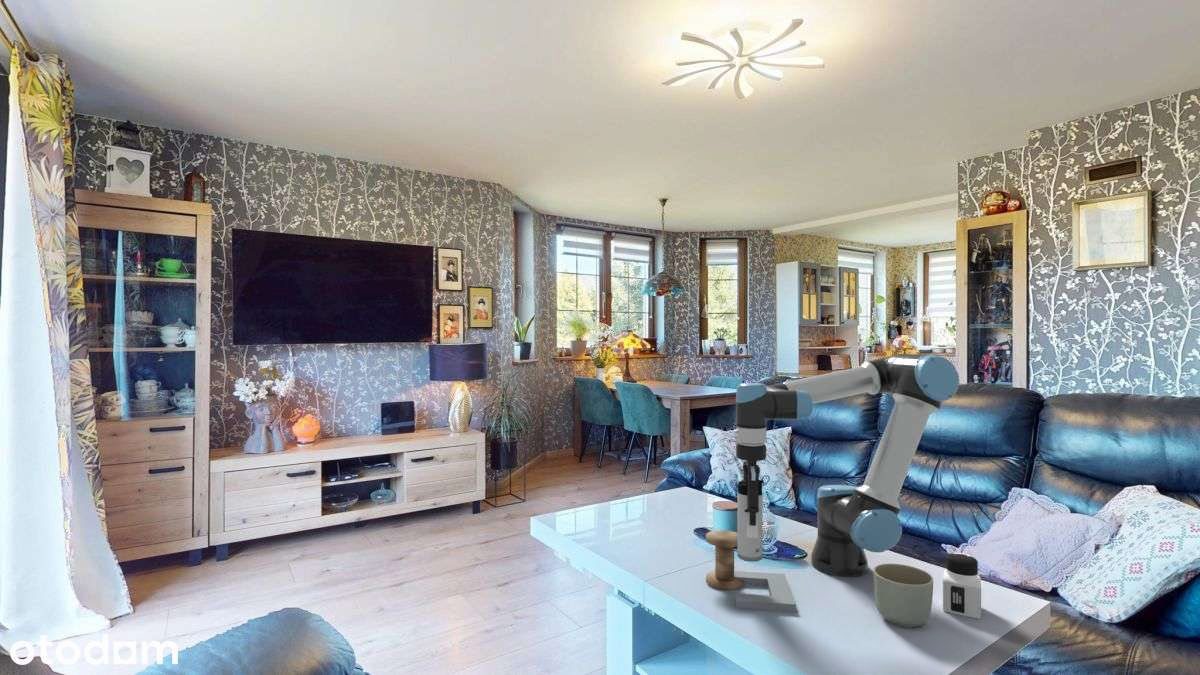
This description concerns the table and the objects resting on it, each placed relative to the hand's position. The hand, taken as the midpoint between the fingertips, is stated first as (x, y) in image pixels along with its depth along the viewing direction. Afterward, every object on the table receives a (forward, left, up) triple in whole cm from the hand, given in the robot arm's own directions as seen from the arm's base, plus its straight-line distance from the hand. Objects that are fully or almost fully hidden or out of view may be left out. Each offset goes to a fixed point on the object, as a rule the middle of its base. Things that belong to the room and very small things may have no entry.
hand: (750, 532), depth 150 cm
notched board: (-3, 0, -16) cm, 16 cm away
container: (-50, +1, -16) cm, 52 cm away
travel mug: (0, 0, -7) cm, 7 cm away
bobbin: (+6, -6, -16) cm, 18 cm away
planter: (-34, +9, -16) cm, 38 cm away
